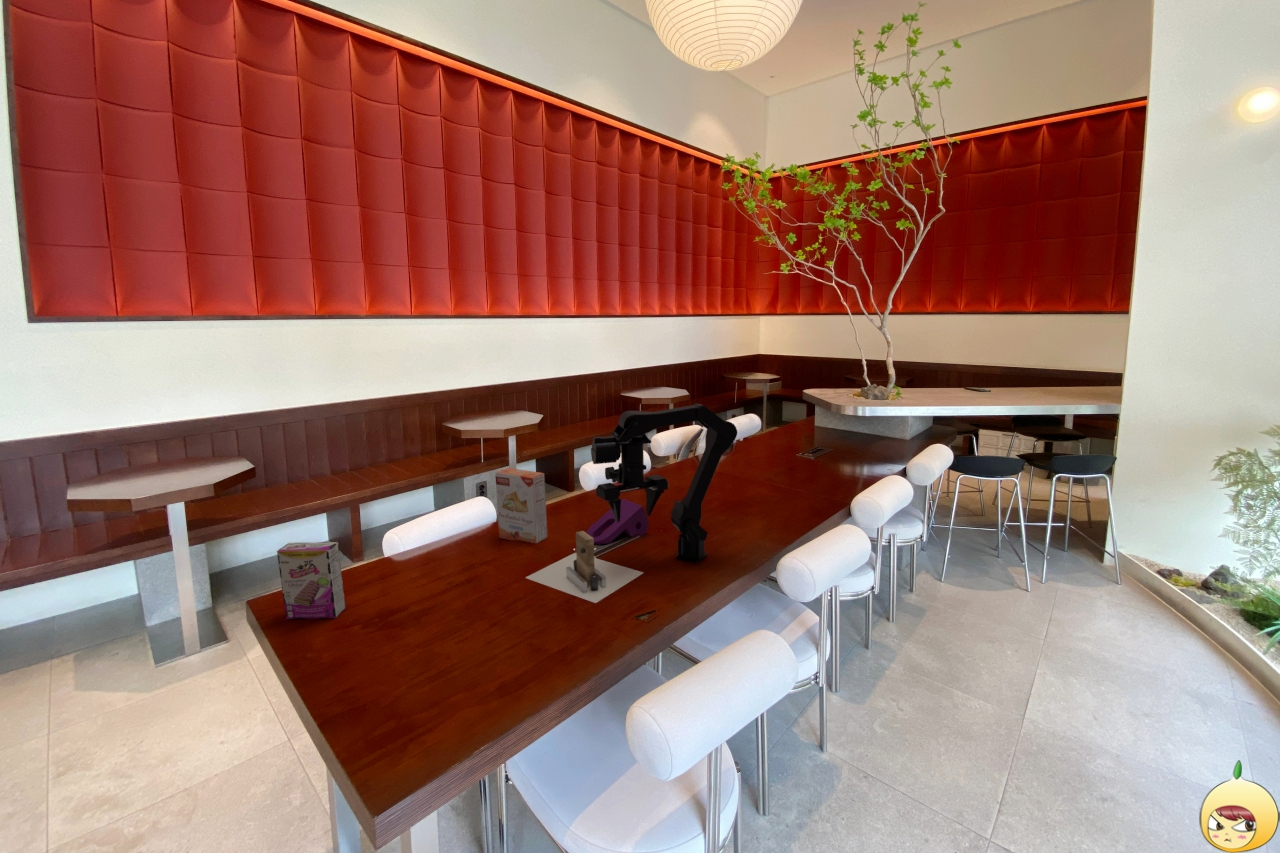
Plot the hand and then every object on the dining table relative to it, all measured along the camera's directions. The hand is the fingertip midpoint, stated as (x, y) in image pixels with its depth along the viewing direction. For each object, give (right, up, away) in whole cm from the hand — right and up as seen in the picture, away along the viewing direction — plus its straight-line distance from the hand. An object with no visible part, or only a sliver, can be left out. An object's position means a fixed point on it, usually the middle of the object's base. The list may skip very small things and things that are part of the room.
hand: (633, 518), depth 151 cm
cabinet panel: (-12, -14, -5) cm, 19 cm away
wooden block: (-12, -14, -9) cm, 20 cm away
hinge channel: (-12, -14, -9) cm, 20 cm away
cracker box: (-33, -10, +21) cm, 40 cm away
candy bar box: (-71, -18, -21) cm, 76 cm away
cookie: (+2, -17, -18) cm, 25 cm away
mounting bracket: (-6, -10, +22) cm, 25 cm away
